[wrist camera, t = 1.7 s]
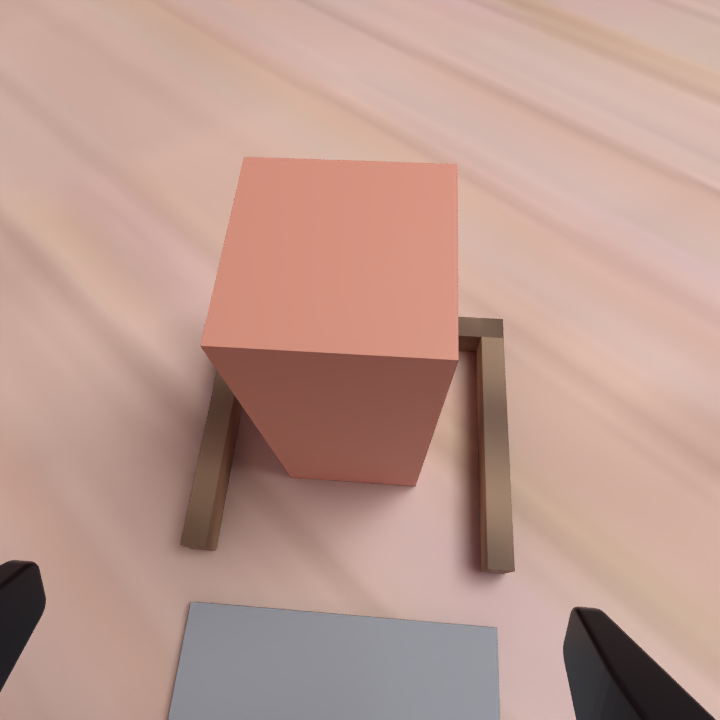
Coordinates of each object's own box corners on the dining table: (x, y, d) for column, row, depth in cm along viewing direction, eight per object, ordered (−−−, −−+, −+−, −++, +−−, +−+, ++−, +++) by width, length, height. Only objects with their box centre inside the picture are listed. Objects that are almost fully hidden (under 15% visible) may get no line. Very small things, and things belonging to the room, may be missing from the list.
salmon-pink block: (415, 486, 22) (458, 360, 11) (291, 477, 23) (200, 345, 11) (418, 371, 25) (457, 164, 13) (306, 364, 25) (244, 157, 13)
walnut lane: (505, 573, 21) (514, 571, 20) (192, 548, 22) (180, 544, 20) (495, 334, 26) (502, 319, 24) (238, 320, 26) (230, 305, 25)
